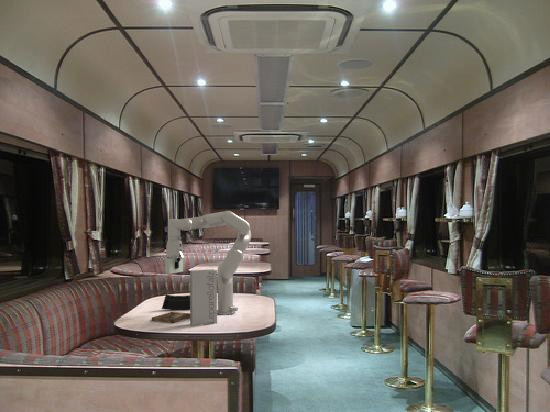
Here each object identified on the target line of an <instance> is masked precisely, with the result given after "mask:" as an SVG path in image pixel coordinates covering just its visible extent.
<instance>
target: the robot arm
mask: <svg viewBox="0 0 550 412" xmlns="http://www.w3.org/2000/svg"><path fill="white" fill-rule="evenodd" d="M225 225H227V226H228V227H229V228H231V229H233V230H234V231H236V233H237V238H236V240H235V241H234V243H233V245H232V246H231V248H230V249H229V250H228V251H227V255H226V257H225V258H224V260H223V261H222V263H220V264H219V265H218V266H217V269H216V270H217V315H233V314H235V313H236V312H238V311H239V308H238V307H235V305H234V279H233V275H234V274H235V273H236V271H237V269H238V268H239V266H240V265H241V263H242V261H243V259H244V254H245V251H246V250H247V249H248V247H249V244H250V243H251V240H252V232H251V226H250V223H249V222H248V221H246V220H245V219H243V218H241V216H238V215H237V214H236V213H234V212H233V211H231V210H225V211H219V212H213V213H206V214H203V215H201V216H194V217H188V218H180V219H178V218H171V219H168V220H167V241H166V247H165V248H166V249H165V252H166V253H165V257H164V258H165V259H168V258H175V261H176V262H175V269H177V268H179V262H180V260H181V259H182V258H183V259H184V248H183V243H182V236H181V231H190V230H191V231H192V230H198V229H207V228H209V229H210V228H215V227H221V226H225Z"/></svg>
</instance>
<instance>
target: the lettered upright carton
mask: <svg viewBox="0 0 550 412" xmlns="http://www.w3.org/2000/svg"><path fill="white" fill-rule="evenodd" d="M217 270H218V269H213V268H212V269H210V268H209V269H193V270H191V269H190V270H189V295H190V310H189V313H190V318H189V319H190V320H189V324H190V325H191V326H192V327H194V326H205V325H212V324H213V325H214V324H218V314H217V310H218V275H217Z"/></svg>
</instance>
